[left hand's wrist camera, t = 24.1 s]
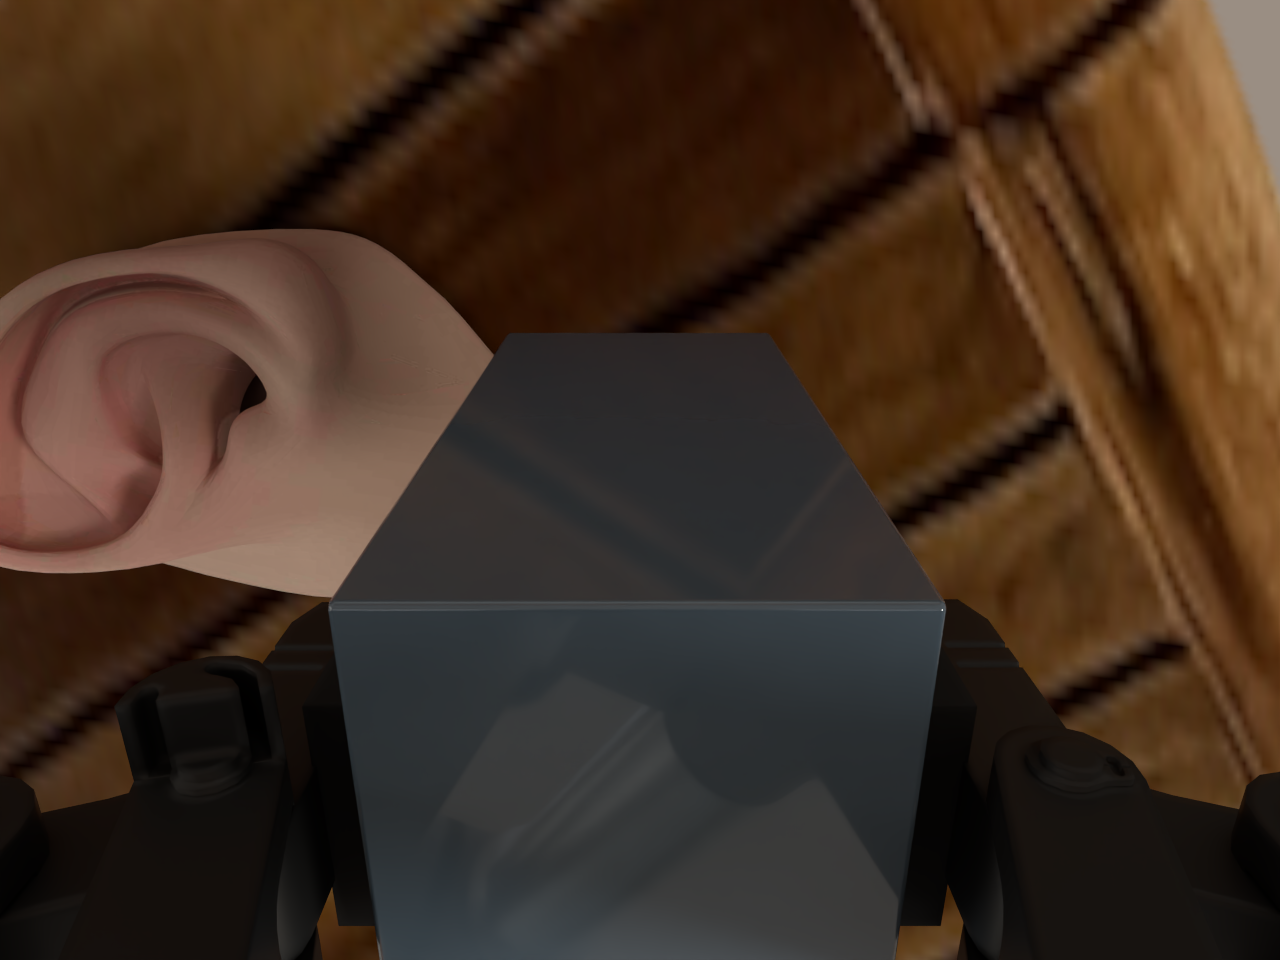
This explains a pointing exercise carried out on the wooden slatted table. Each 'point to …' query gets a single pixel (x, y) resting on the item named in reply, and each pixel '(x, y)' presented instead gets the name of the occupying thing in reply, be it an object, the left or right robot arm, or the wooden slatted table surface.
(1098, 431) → the wooden slatted table surface
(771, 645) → the brick
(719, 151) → the wooden slatted table surface
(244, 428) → the anatomical model
